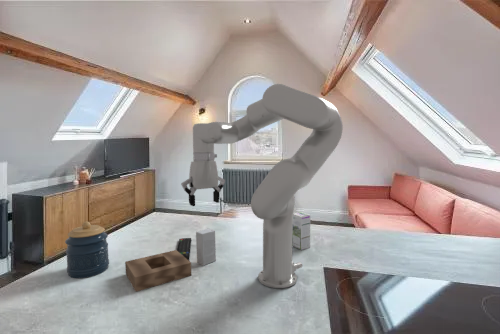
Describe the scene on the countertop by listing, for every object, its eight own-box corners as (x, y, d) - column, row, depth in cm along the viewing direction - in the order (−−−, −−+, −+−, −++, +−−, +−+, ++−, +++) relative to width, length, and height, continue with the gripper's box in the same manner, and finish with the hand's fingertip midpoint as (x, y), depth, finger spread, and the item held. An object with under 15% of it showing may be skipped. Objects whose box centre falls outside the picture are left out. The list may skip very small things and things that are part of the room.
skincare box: (209, 258, 110) (208, 228, 109) (216, 261, 107) (215, 230, 106) (196, 262, 106) (195, 231, 105) (202, 266, 103) (202, 234, 102)
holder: (176, 261, 107) (176, 249, 107) (191, 275, 96) (191, 262, 95) (125, 274, 97) (125, 261, 96) (135, 291, 85) (135, 277, 85)
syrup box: (310, 247, 120) (311, 214, 119) (300, 250, 117) (301, 216, 116) (301, 243, 125) (301, 211, 124) (291, 246, 122) (291, 213, 121)
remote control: (175, 262, 107) (174, 259, 107) (179, 241, 131) (179, 238, 131) (189, 261, 108) (189, 258, 108) (191, 240, 132) (191, 237, 131)
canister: (62, 271, 100) (59, 222, 98) (101, 259, 109) (99, 215, 108) (73, 283, 91) (70, 229, 89) (115, 269, 100) (112, 221, 99)
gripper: (219, 156, 111) (220, 199, 112) (177, 158, 101) (178, 205, 102) (229, 157, 105) (229, 202, 106) (185, 158, 95) (186, 208, 96)
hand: (204, 203), depth 104 cm, fingers open, 9 cm apart
